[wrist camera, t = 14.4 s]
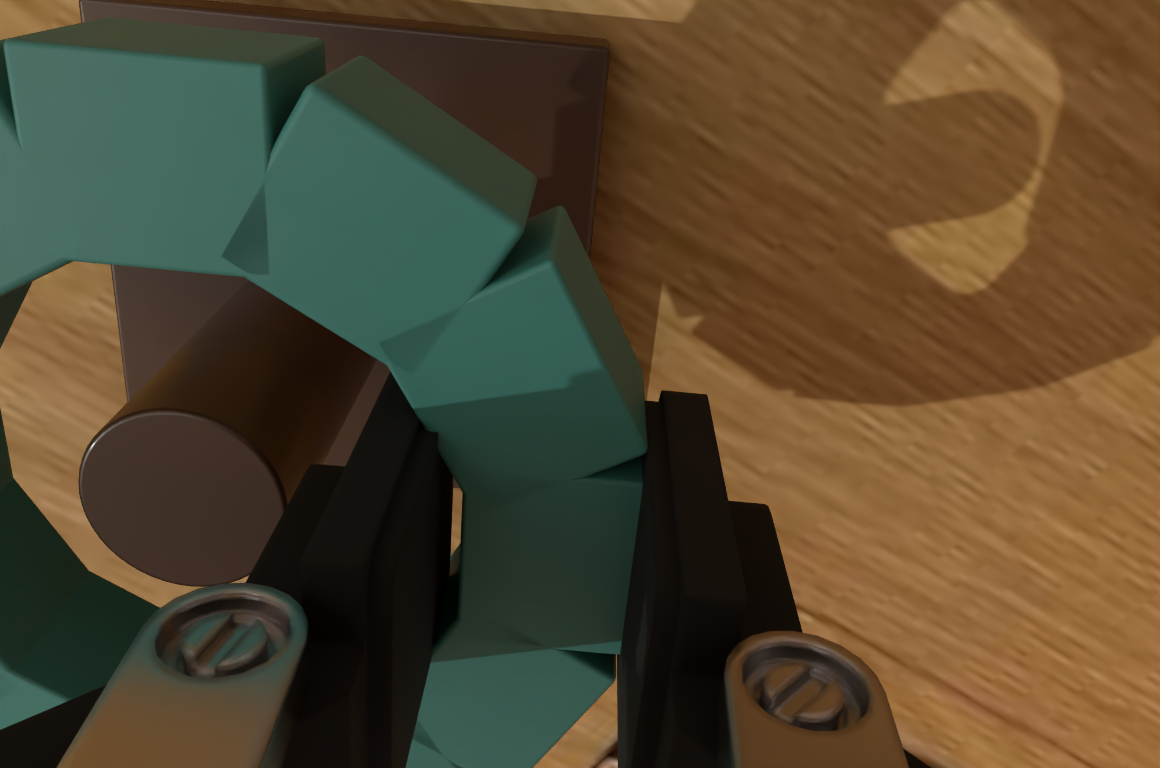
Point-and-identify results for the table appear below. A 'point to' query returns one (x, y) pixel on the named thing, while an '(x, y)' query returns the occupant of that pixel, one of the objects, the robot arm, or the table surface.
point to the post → (282, 333)
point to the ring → (359, 315)
